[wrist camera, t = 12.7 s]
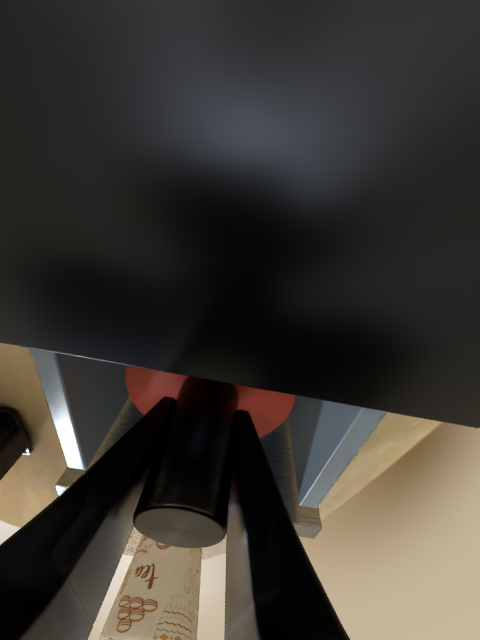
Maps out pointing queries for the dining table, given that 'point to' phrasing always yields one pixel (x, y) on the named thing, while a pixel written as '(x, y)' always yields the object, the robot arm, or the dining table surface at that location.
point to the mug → (157, 595)
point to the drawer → (279, 445)
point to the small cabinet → (248, 193)
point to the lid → (195, 453)
